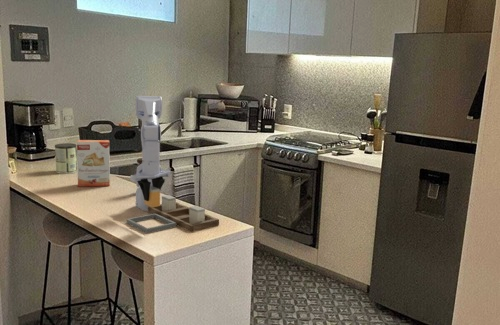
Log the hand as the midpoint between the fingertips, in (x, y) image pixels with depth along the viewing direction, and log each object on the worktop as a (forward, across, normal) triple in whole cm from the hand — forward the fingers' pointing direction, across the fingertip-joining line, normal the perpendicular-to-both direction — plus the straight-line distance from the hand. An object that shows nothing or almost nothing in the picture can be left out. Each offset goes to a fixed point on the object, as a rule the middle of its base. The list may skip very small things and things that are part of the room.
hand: (151, 199), depth 165 cm
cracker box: (+10, +10, +67) cm, 68 cm away
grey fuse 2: (+9, +13, -9) cm, 18 cm away
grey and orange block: (+2, 0, -1) cm, 2 cm away
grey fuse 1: (+9, +13, +9) cm, 18 cm away
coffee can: (+10, +11, +102) cm, 103 cm away
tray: (+10, 0, 0) cm, 10 cm away
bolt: (+10, +22, +43) cm, 49 cm away
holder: (+10, +13, 0) cm, 16 cm away
